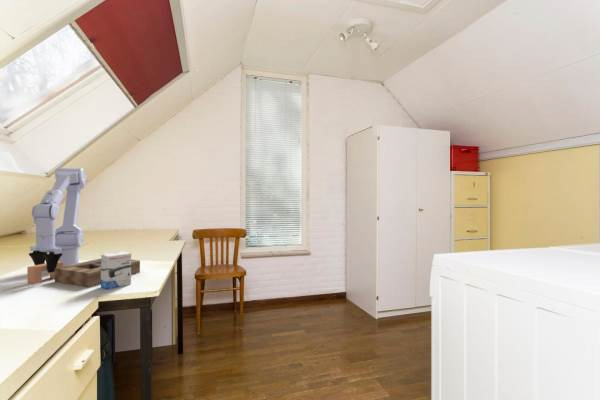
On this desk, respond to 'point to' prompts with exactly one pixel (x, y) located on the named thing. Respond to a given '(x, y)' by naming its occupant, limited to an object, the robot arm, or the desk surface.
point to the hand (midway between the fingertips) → (45, 271)
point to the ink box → (115, 269)
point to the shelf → (86, 273)
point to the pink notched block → (39, 272)
